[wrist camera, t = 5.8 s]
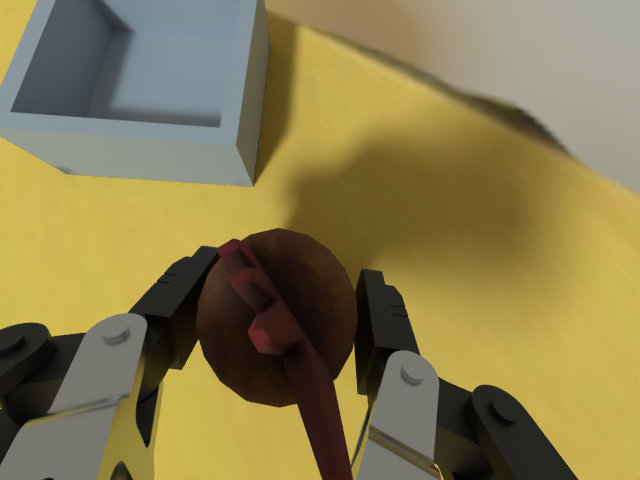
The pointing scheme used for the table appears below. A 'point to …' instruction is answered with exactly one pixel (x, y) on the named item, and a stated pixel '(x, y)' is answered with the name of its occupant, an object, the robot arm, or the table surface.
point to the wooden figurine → (283, 331)
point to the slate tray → (141, 88)
